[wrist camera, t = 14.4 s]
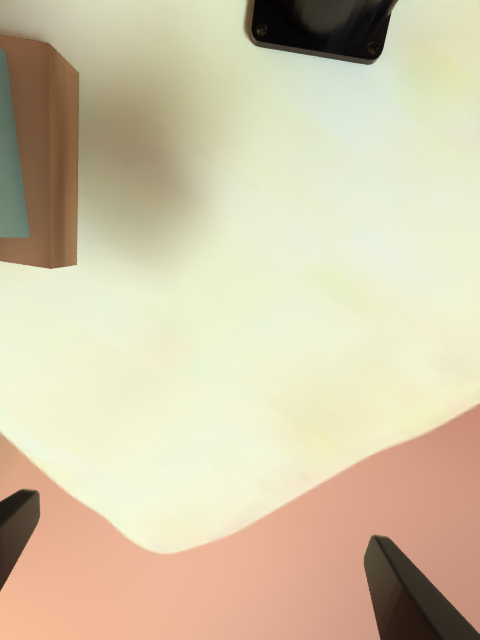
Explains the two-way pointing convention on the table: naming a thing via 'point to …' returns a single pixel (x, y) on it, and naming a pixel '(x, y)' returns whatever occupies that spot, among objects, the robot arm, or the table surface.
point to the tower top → (10, 165)
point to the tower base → (44, 152)
